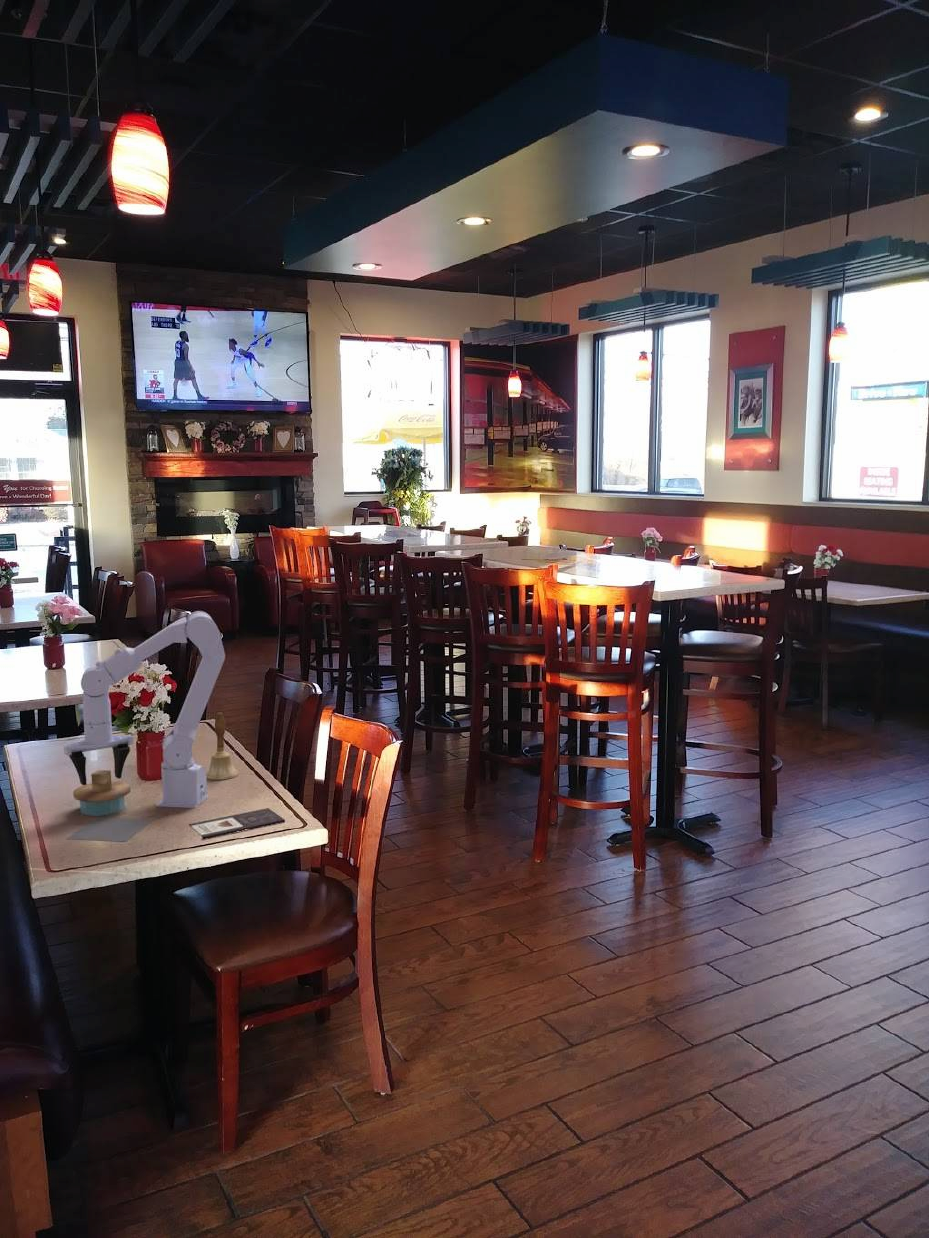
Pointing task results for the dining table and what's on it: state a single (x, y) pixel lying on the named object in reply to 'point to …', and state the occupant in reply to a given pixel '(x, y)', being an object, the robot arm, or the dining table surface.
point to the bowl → (102, 807)
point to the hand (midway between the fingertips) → (101, 780)
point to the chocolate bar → (236, 823)
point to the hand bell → (220, 755)
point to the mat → (110, 829)
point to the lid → (101, 788)
